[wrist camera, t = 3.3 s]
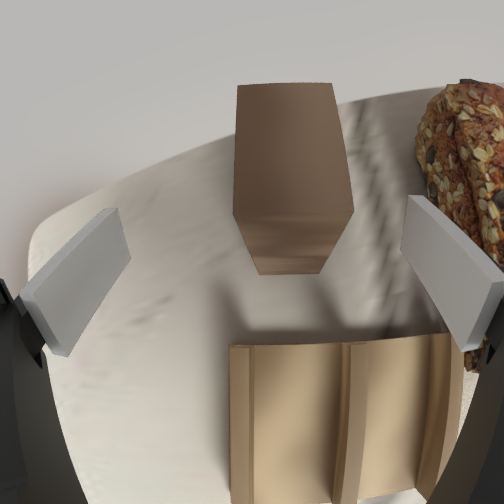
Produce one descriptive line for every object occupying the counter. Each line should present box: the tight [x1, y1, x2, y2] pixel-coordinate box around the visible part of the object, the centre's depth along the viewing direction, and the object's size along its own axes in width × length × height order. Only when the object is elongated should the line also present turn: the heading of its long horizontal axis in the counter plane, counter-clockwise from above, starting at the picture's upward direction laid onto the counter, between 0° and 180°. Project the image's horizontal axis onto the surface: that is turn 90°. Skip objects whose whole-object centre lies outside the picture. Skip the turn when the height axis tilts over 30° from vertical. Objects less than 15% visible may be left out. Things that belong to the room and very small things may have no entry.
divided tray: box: [229, 332, 464, 504], centre depth 15 cm, size 15×12×4 cm
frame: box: [233, 83, 354, 275], centre depth 16 cm, size 4×6×11 cm
